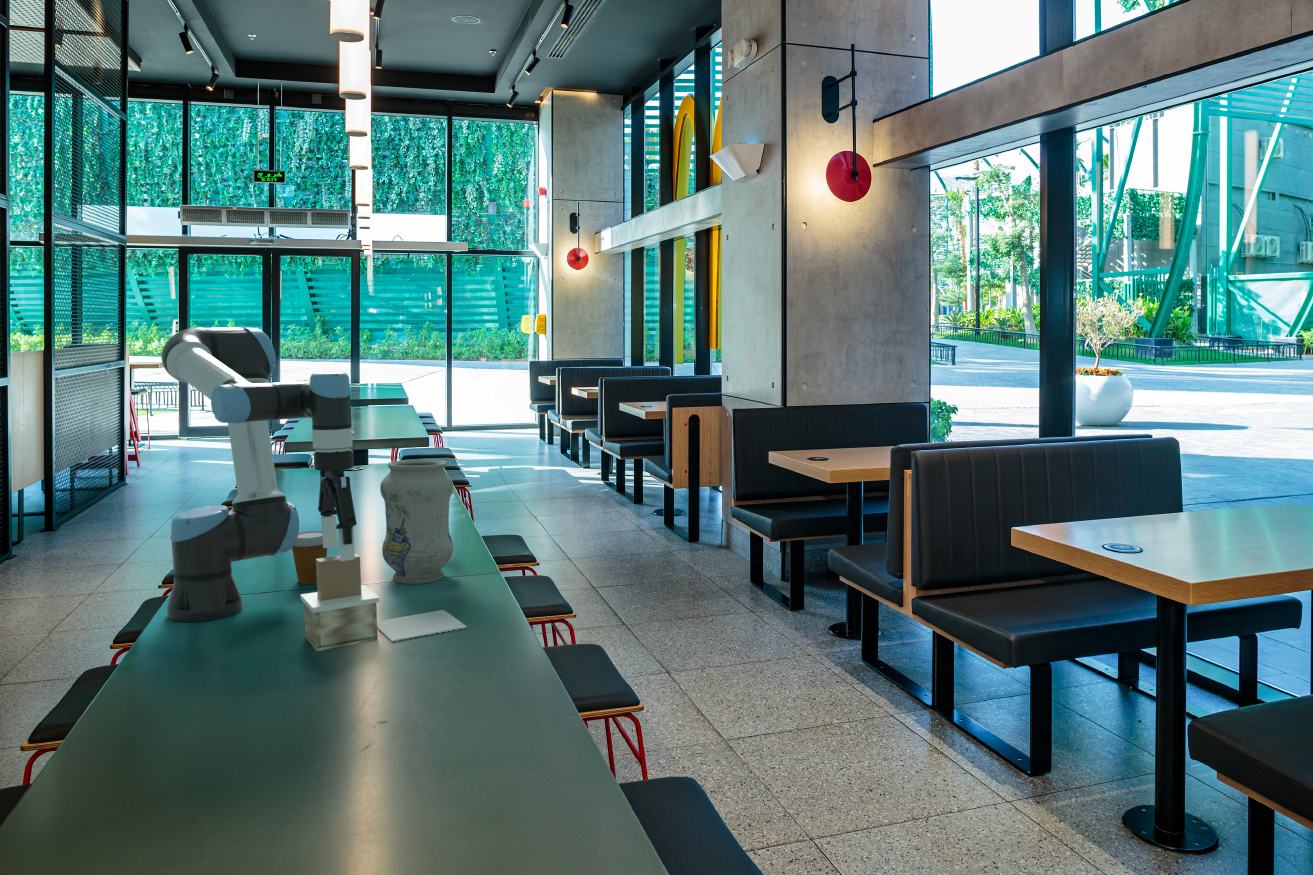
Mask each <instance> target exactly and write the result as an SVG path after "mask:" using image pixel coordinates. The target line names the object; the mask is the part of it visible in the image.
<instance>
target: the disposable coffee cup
mask: <svg viewBox="0 0 1313 875" xmlns="http://www.w3.org/2000/svg"><path fill="white" fill-rule="evenodd" d="M291 551H292V554H293V562H294V567H295V571H296V572H295V573H296V577H297V582H298V584H301V585H313V584H317V575H316V559H319V558H326V557H328V556H327V555H328V548H323V537H322V530H306V531H299V533H298V537H297V540H296V543H295V545H294V546H293V547H292V548H291Z"/></svg>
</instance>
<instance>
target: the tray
mask: <svg viewBox="0 0 1313 875" xmlns="http://www.w3.org/2000/svg"><path fill="white" fill-rule="evenodd" d="M465 628H466V629H467V628H468V626H467V625H465V624H464V623H463V622H462V621H460V620H459V619H457V618H456V617H454V616H453V615H452V614H451V613H449V612H448V611H446V610H444V609H441V610H434V611H428V612H424V613H417V614H412V615H405V616H399V617H395V618H390V619H389V618H388V619H383V620H377V630H378V629H379V630H380V631H381V632H382V633H383V636H385V637H386V638H387V639H388V640H389V641H390V642H391V643H394V642H395V641H396V642H400V641H399V640H402V641H405V640H404V639H407V640H410V639H409V638H413V639H415V638H414V637H418V636H423V637H425V636H424V635H429V636H431V635H430V634H434V635H436V634H435V633H439V634H443V633H442V632H445V633H448V631H450V632H454V631H453V630H455V631H460V630H459V629H461V630H465ZM379 630H378V631H379ZM380 631H379V632H380ZM381 632H380V633H381ZM382 633H381V634H382ZM418 638H419V637H418ZM396 642H395V643H396Z"/></svg>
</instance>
